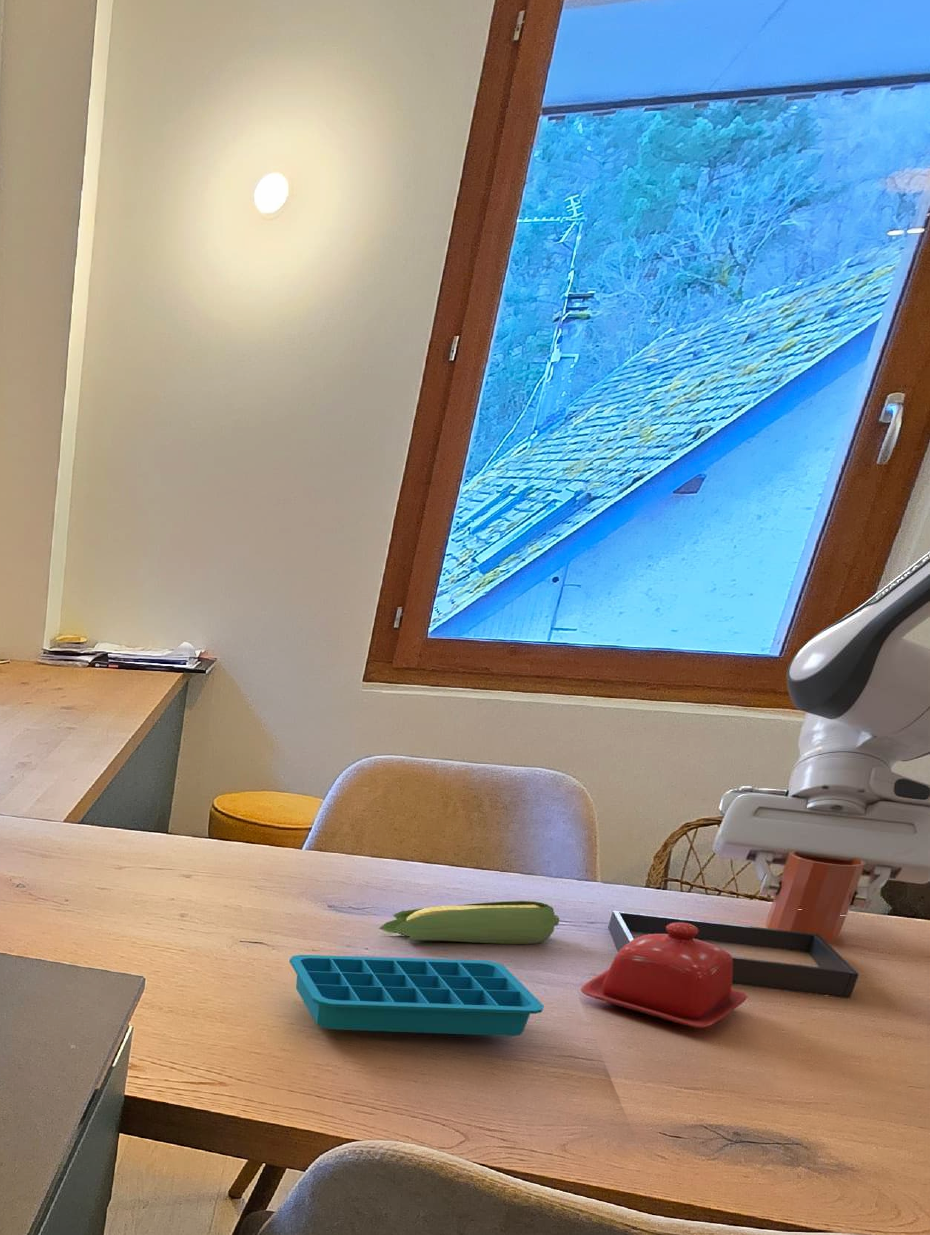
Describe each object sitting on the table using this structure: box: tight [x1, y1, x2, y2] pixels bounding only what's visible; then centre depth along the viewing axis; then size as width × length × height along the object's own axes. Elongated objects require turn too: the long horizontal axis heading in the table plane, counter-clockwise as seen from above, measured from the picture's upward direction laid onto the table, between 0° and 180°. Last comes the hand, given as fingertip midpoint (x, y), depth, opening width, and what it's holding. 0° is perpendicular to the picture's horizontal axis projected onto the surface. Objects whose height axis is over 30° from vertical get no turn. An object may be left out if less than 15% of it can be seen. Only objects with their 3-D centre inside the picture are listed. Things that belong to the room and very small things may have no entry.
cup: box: [764, 851, 866, 943], centre depth 132 cm, size 7×7×10 cm
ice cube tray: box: [289, 954, 545, 1037], centre depth 113 cm, size 12×20×3 cm, turn 83°
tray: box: [607, 910, 860, 999], centre depth 126 cm, size 19×13×3 cm
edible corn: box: [378, 900, 560, 945], centre depth 133 cm, size 5×20×5 cm, turn 88°
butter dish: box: [580, 922, 748, 1029], centre depth 114 cm, size 12×12×8 cm
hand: (814, 898), depth 131 cm, fingers closed on cup, 7 cm apart
